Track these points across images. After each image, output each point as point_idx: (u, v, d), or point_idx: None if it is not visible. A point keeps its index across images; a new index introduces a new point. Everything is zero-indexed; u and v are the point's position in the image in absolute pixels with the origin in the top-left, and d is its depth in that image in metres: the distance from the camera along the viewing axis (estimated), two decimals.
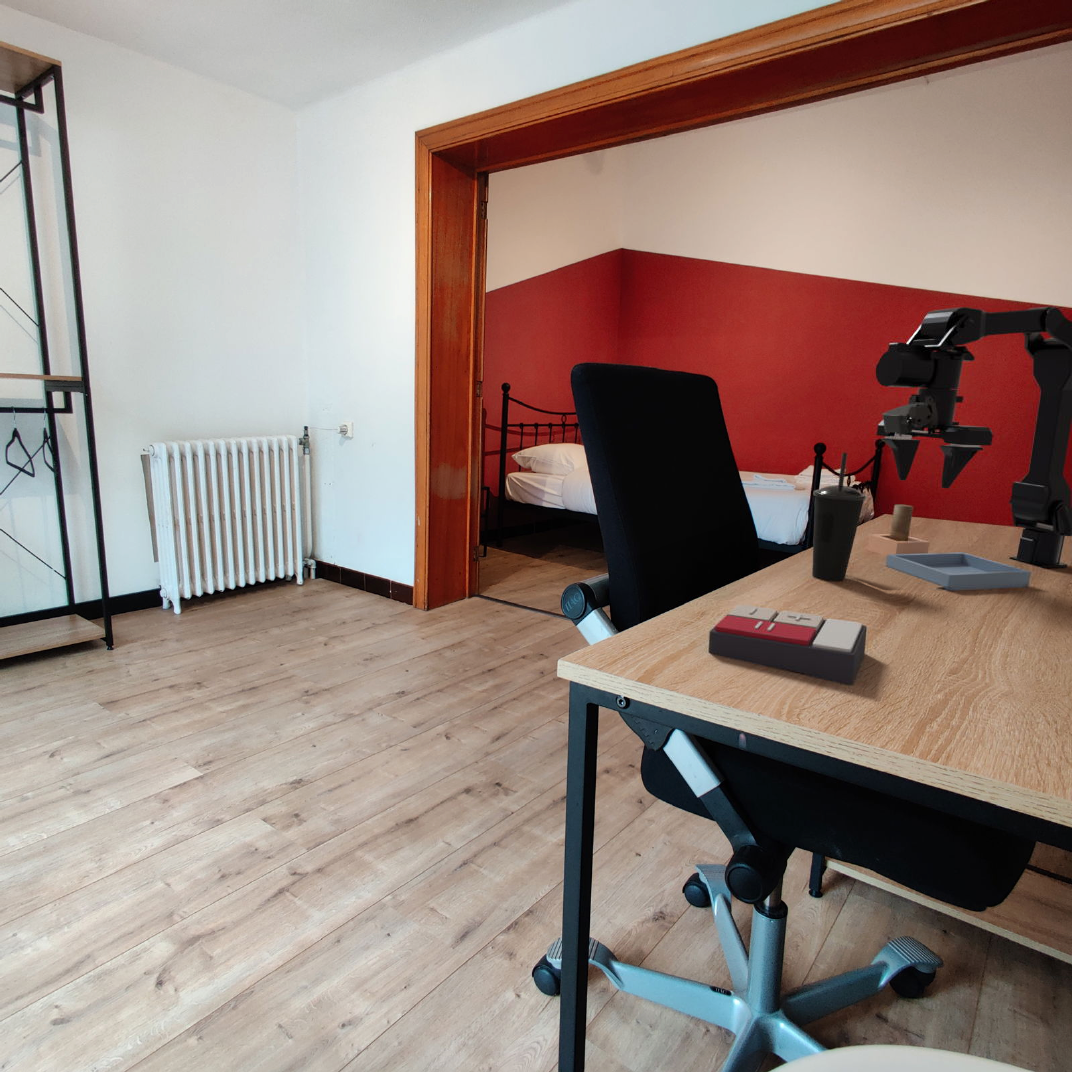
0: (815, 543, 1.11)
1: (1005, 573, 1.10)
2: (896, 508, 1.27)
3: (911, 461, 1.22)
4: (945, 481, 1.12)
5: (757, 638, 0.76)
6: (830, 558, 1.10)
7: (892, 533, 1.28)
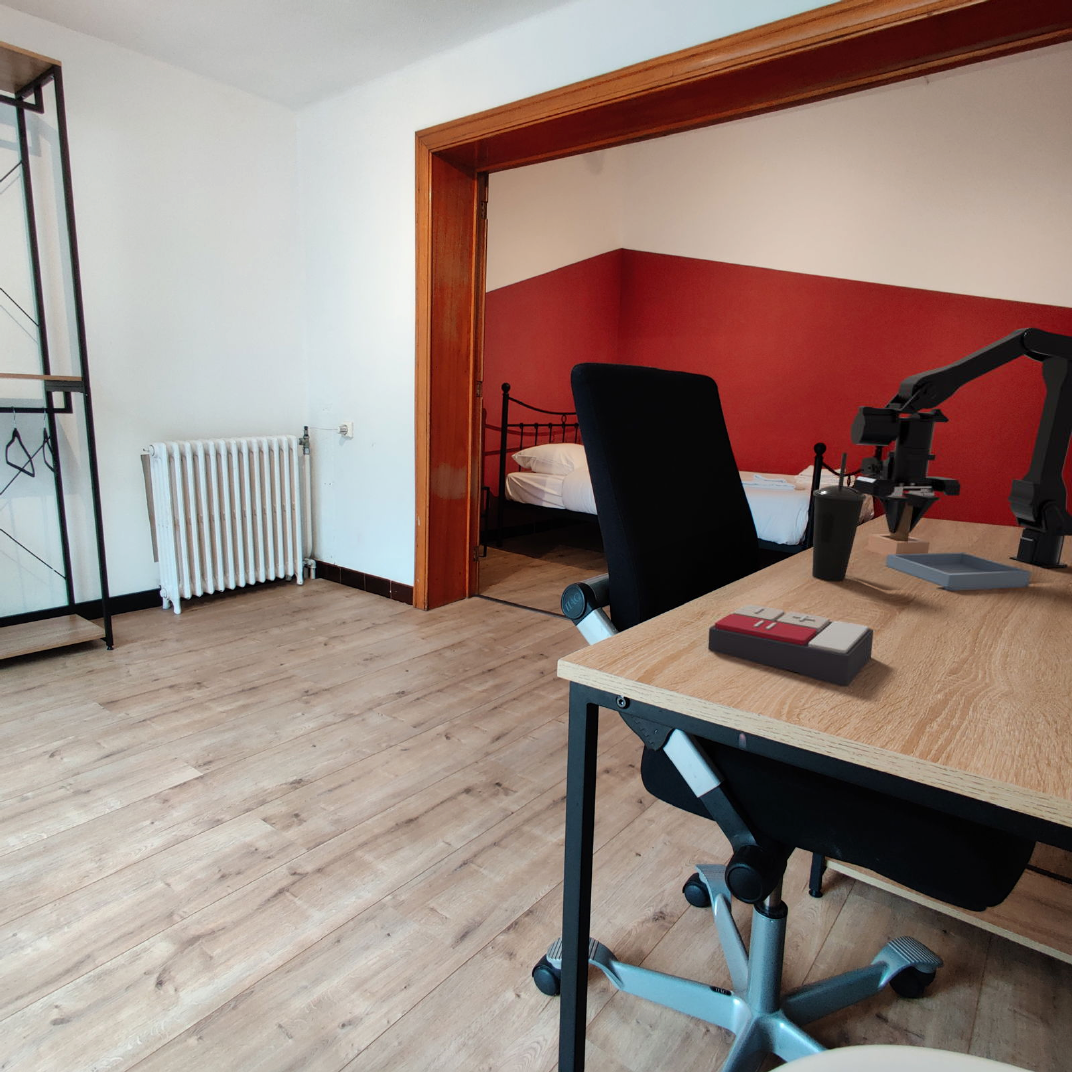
0: (815, 543, 1.11)
1: (1005, 573, 1.10)
2: None
3: (915, 516, 1.27)
4: (888, 525, 1.28)
5: (755, 636, 0.76)
6: (830, 558, 1.10)
7: (892, 533, 1.28)
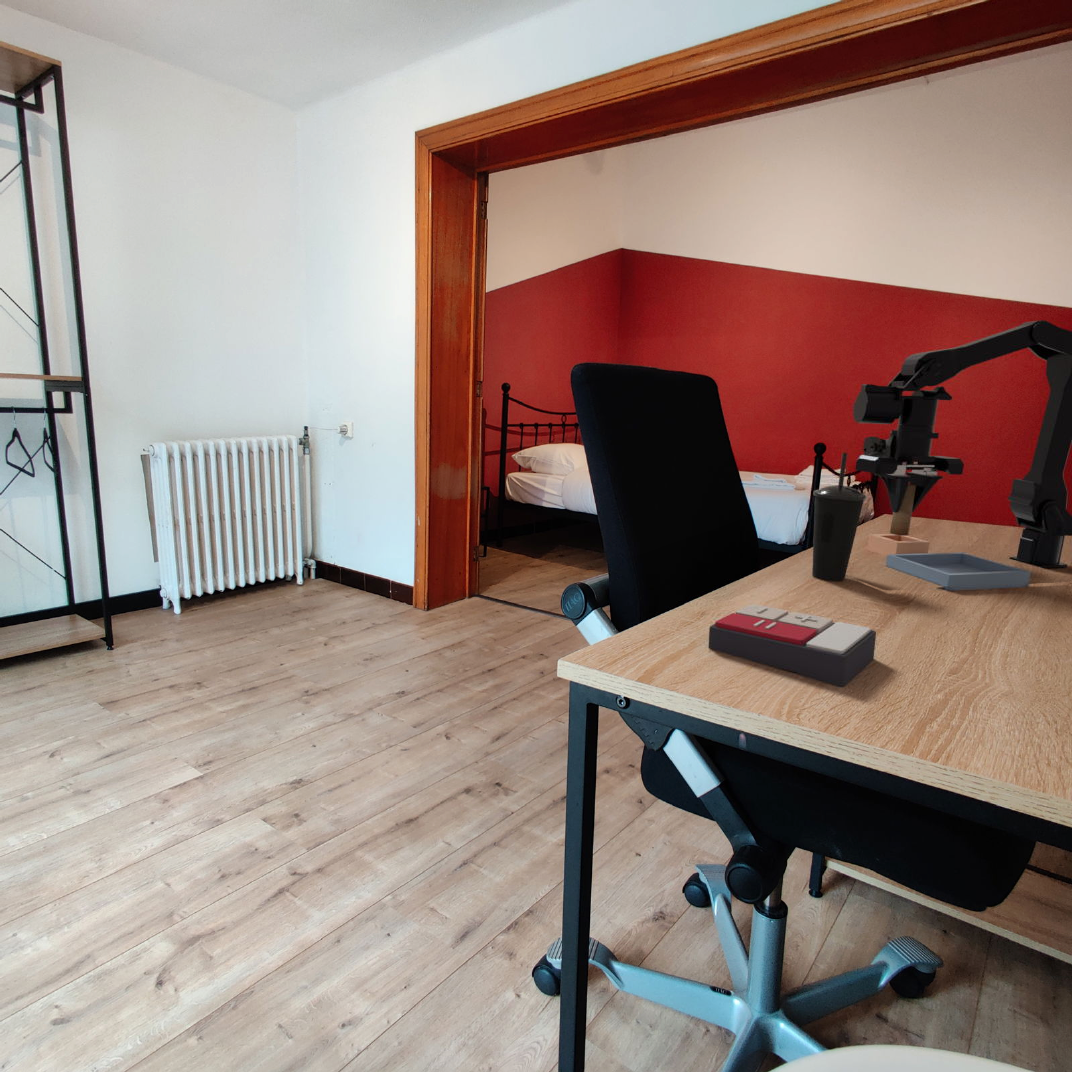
0: (815, 543, 1.11)
1: (1005, 573, 1.10)
2: None
3: (918, 495, 1.26)
4: (891, 505, 1.27)
5: (754, 635, 0.77)
6: (830, 558, 1.10)
7: (895, 513, 1.27)
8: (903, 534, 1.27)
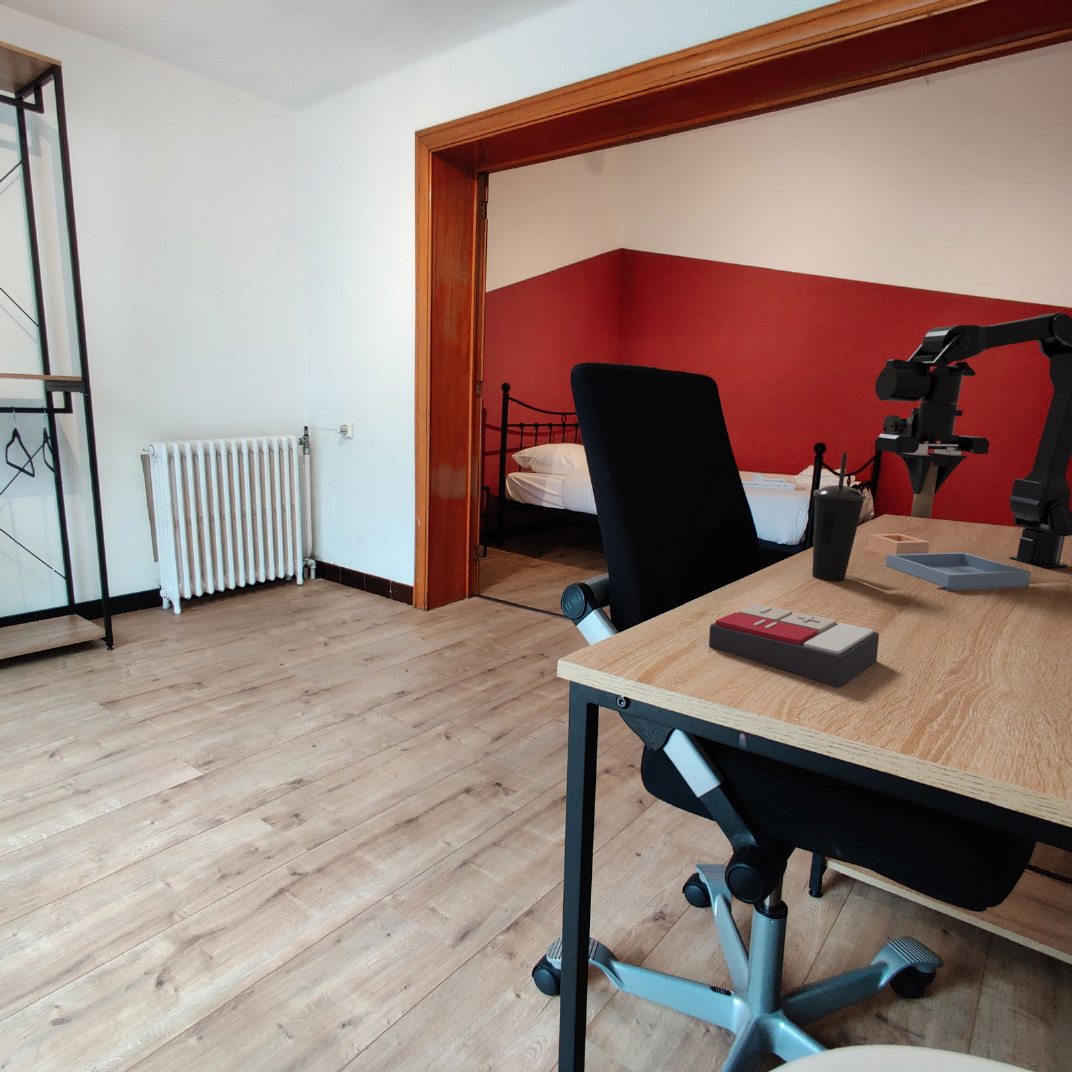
0: (815, 543, 1.11)
1: (1005, 573, 1.10)
2: None
3: (941, 476, 1.21)
4: (912, 486, 1.22)
5: (753, 634, 0.77)
6: (830, 558, 1.10)
7: (916, 494, 1.22)
8: (925, 516, 1.22)
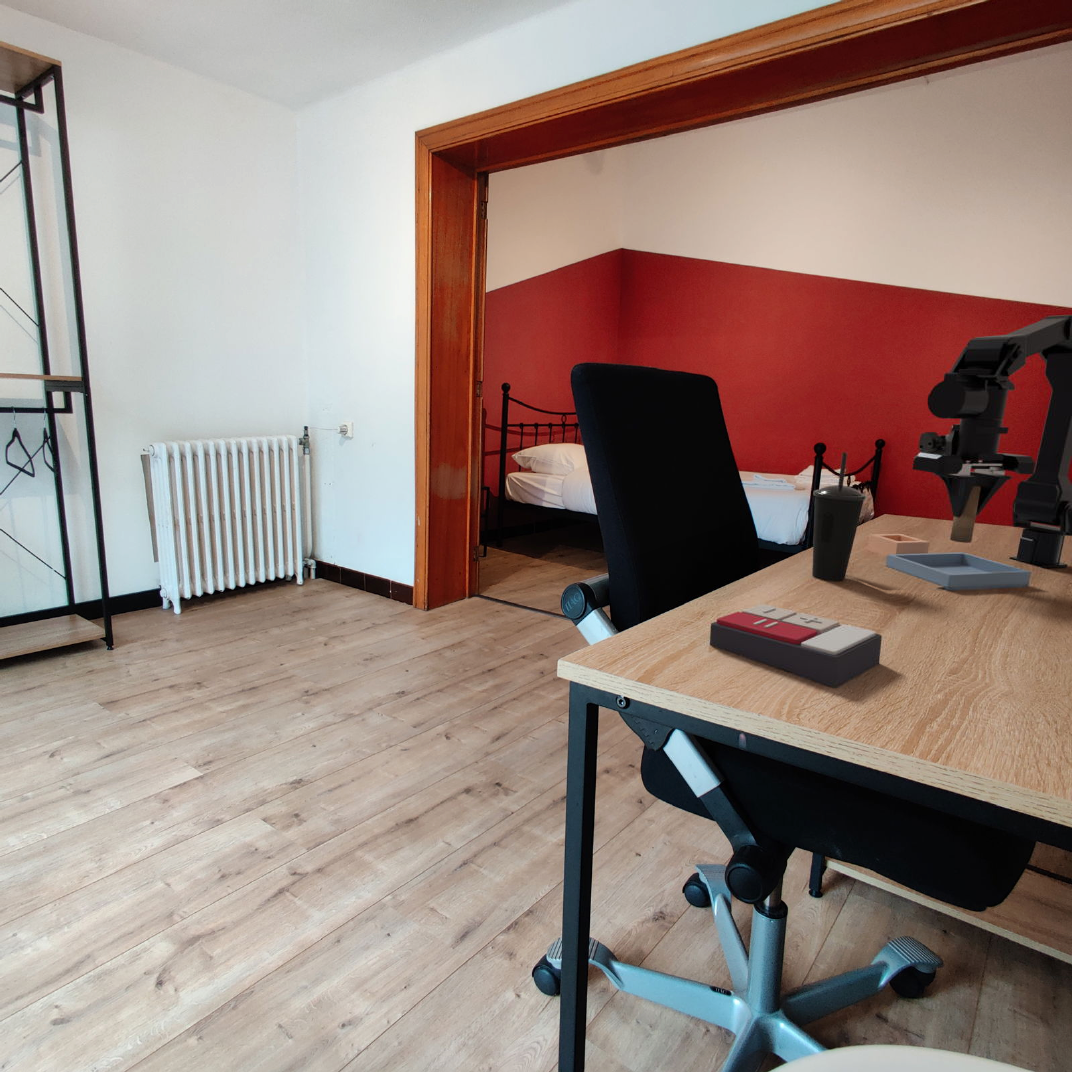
0: (815, 543, 1.11)
1: (1005, 573, 1.10)
2: None
3: (983, 498, 1.12)
4: (952, 508, 1.13)
5: (752, 633, 0.77)
6: (830, 558, 1.10)
7: (956, 517, 1.13)
8: (966, 541, 1.13)
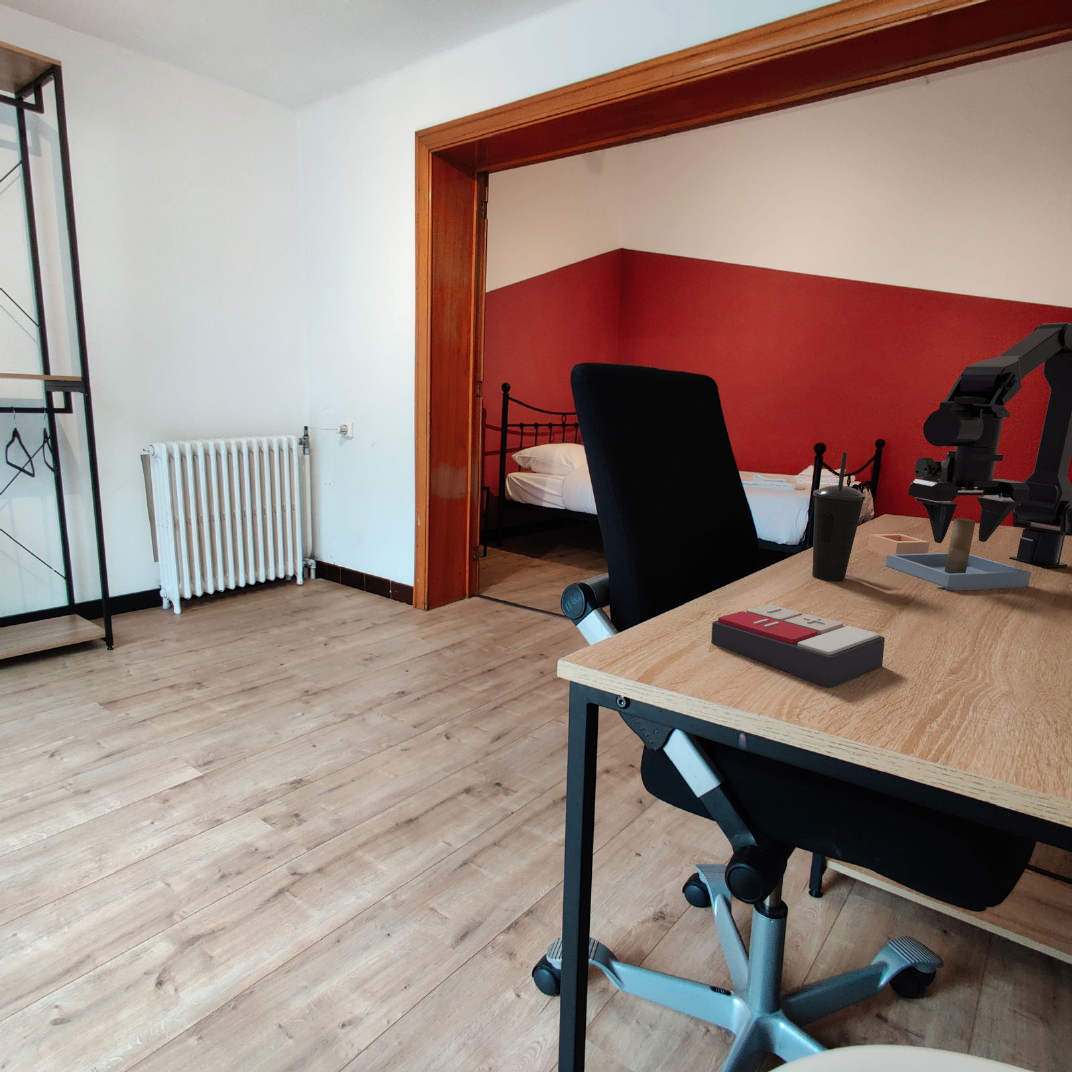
0: (815, 543, 1.11)
1: (1005, 573, 1.10)
2: (956, 522, 1.14)
3: (992, 523, 1.14)
4: (933, 534, 1.14)
5: (751, 632, 0.78)
6: (830, 558, 1.10)
7: (951, 550, 1.15)
8: None
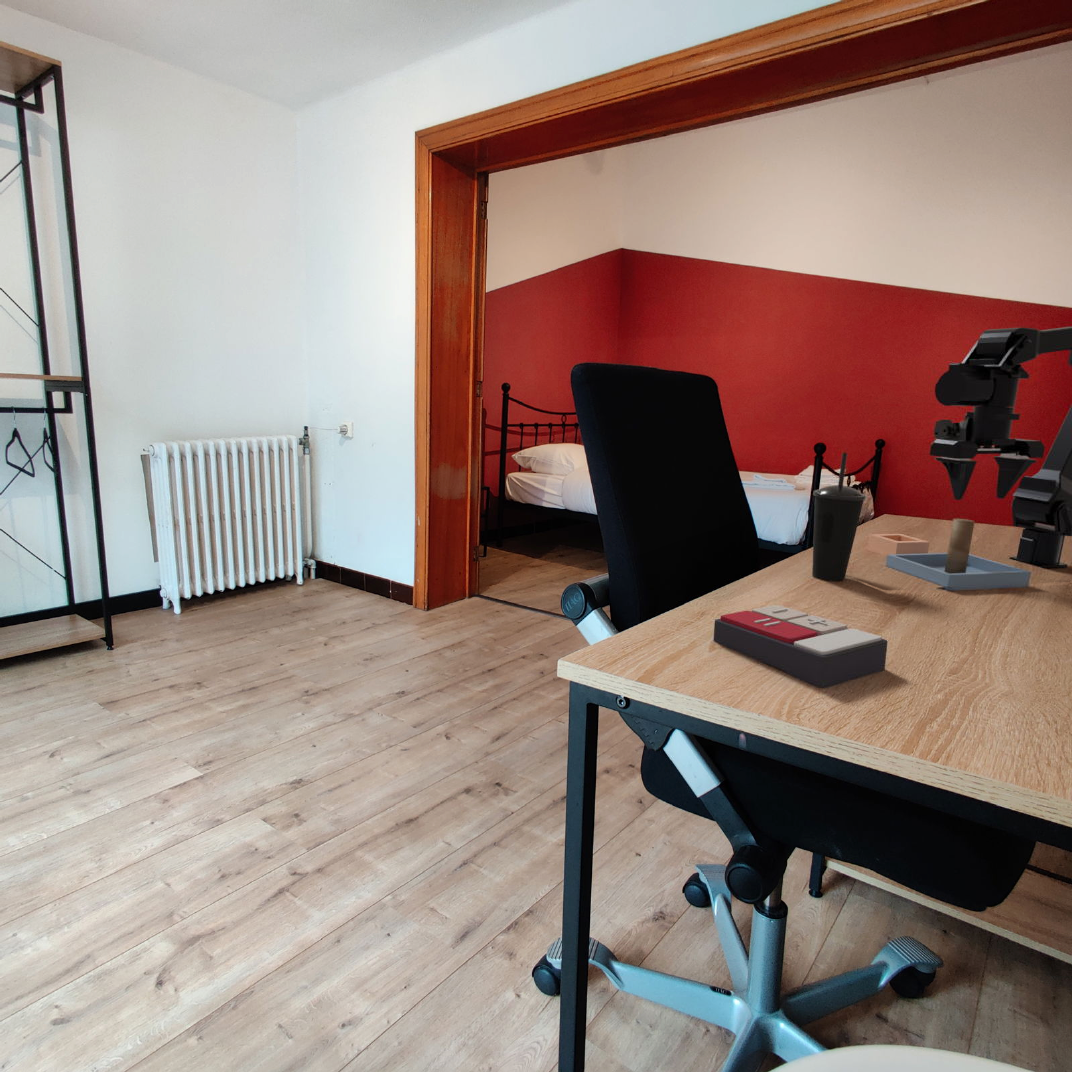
0: (815, 543, 1.11)
1: (1005, 573, 1.10)
2: (955, 523, 1.14)
3: (1010, 480, 1.19)
4: (953, 492, 1.19)
5: (751, 631, 0.78)
6: (830, 558, 1.10)
7: (950, 551, 1.15)
8: None
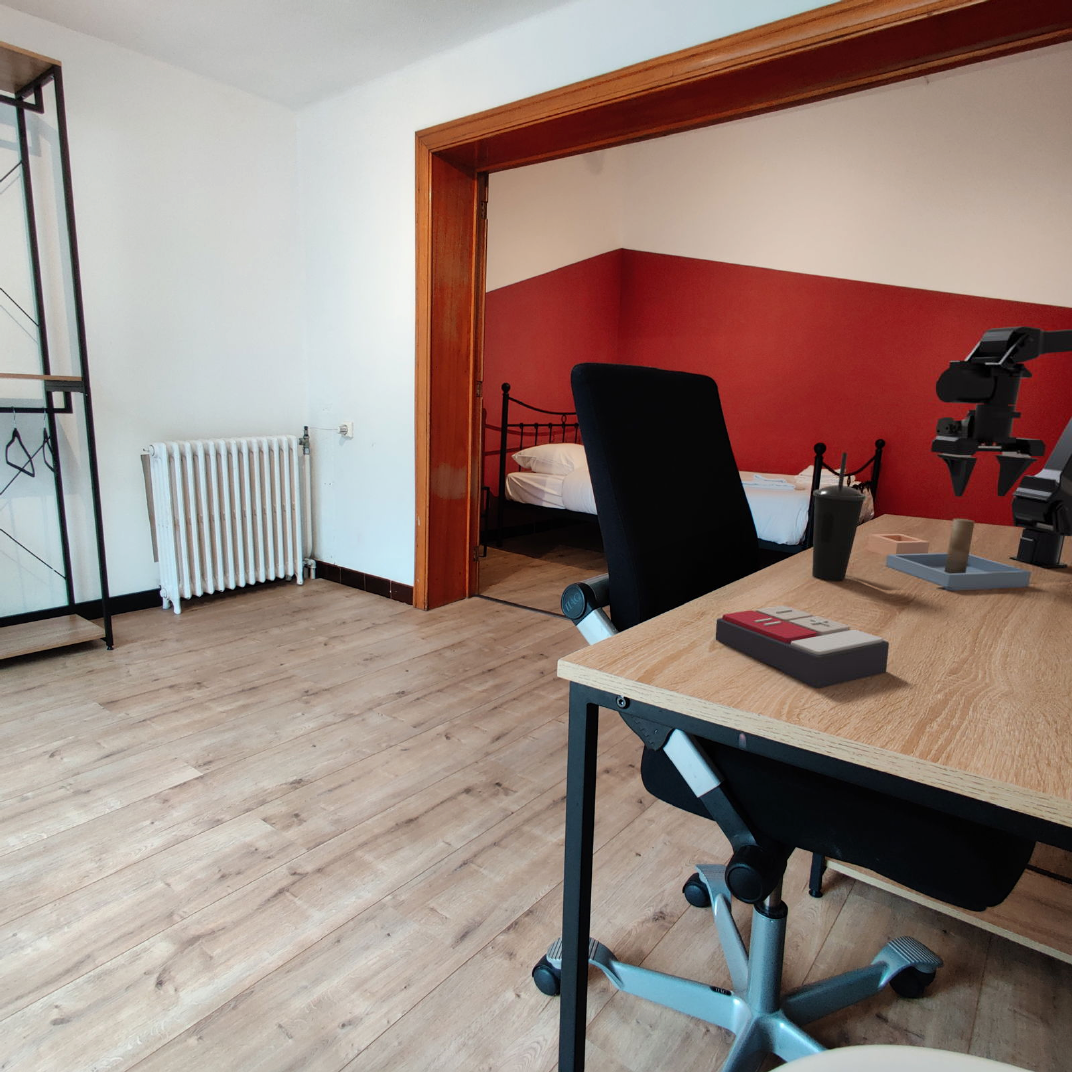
0: (815, 543, 1.11)
1: (1005, 573, 1.10)
2: (955, 523, 1.14)
3: (1011, 478, 1.20)
4: (954, 489, 1.20)
5: (750, 630, 0.78)
6: (830, 558, 1.10)
7: (950, 551, 1.15)
8: None
